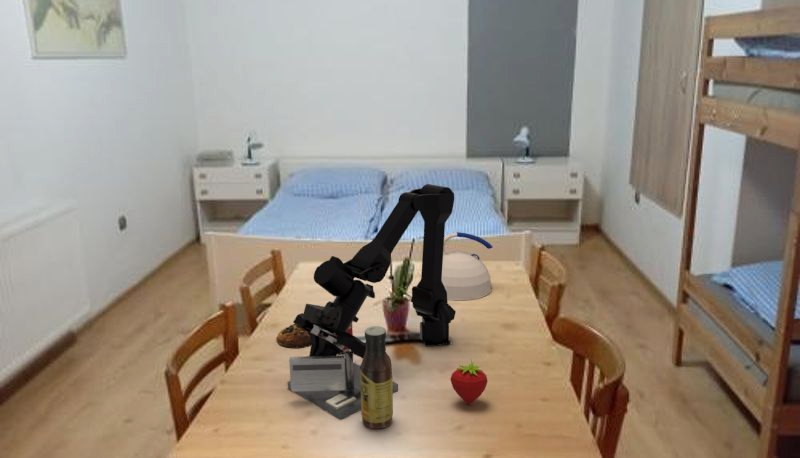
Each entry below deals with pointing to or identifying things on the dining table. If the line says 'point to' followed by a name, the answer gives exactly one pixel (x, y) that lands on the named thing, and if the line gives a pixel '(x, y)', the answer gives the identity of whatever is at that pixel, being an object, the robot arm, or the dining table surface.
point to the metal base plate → (322, 396)
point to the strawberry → (469, 382)
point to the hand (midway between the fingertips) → (308, 370)
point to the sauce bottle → (376, 380)
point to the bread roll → (294, 337)
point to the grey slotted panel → (322, 373)
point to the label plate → (340, 401)
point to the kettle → (465, 272)
